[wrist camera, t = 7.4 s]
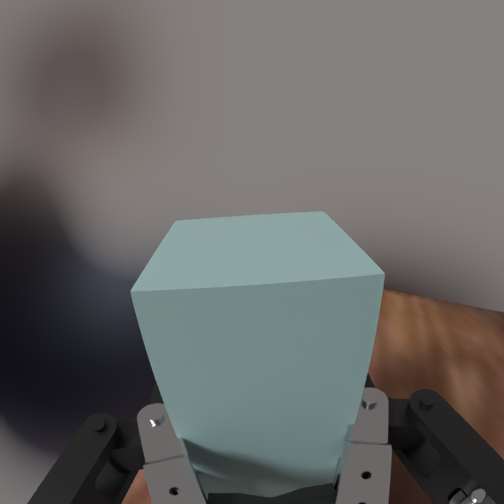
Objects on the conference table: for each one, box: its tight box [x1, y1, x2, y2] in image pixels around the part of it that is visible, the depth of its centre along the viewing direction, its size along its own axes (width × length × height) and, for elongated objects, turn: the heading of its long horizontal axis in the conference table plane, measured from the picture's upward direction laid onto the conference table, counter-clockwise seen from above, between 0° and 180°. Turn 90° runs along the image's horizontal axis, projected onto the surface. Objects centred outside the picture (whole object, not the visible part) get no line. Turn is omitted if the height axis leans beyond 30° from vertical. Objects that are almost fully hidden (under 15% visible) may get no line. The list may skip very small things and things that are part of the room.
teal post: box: [131, 211, 385, 499], centre depth 11 cm, size 5×5×14 cm
